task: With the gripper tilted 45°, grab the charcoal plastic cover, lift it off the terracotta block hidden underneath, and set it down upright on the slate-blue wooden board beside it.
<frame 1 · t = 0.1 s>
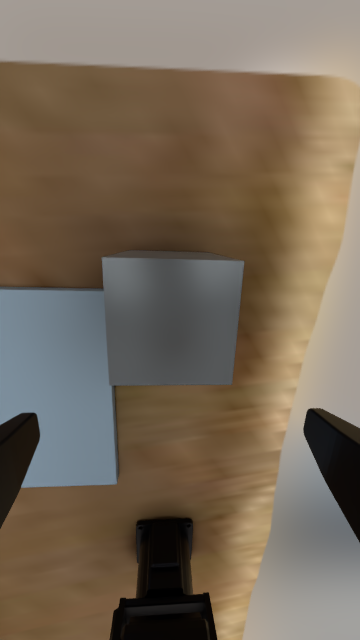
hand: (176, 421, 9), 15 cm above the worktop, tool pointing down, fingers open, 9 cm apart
board: (38, 393, 24), on the worktop
cover: (168, 289, 22), on the worktop
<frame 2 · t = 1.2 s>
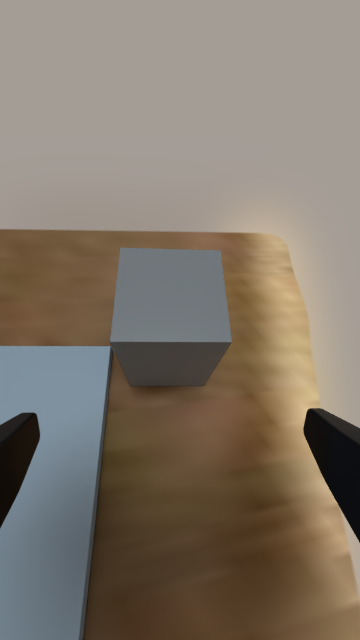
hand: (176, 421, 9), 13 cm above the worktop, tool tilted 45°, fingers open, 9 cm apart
board: (0, 482, 18), on the worktop
cover: (167, 351, 24), on the worktop
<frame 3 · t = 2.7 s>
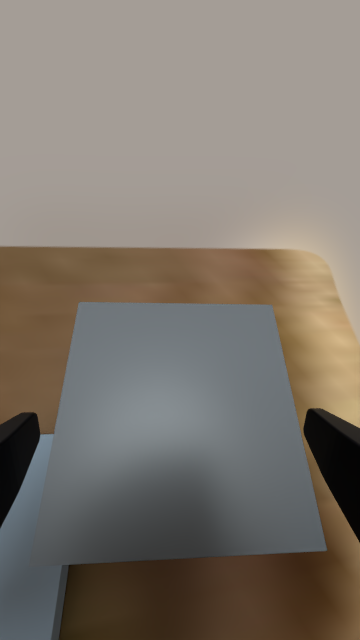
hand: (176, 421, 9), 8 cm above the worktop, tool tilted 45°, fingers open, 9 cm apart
cover: (169, 433, 16), on the worktop
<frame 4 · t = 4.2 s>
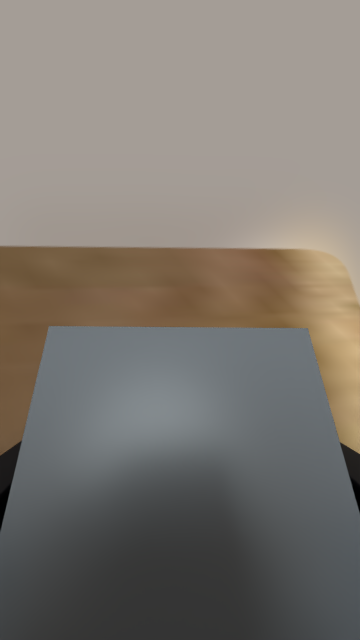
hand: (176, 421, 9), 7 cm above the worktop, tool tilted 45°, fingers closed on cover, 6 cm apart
cover: (170, 463, 14), on the worktop, touching gripper
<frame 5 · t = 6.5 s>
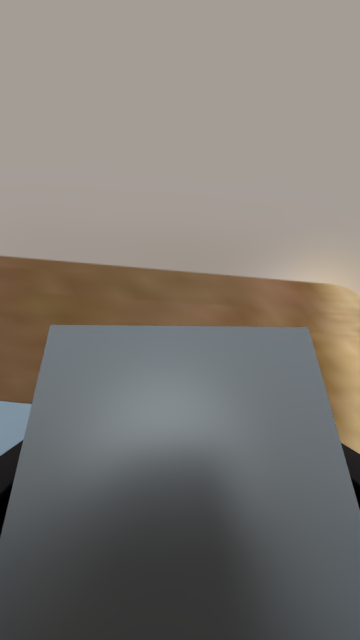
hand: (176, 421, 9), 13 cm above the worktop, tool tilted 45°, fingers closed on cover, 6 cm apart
board: (46, 574, 16), on the worktop
cover: (170, 462, 14), point 7 cm above the worktop, touching gripper
when the fingers open (9 cm above the worktop, at t = 9.1 s): cover drops 1 cm, resting on board.
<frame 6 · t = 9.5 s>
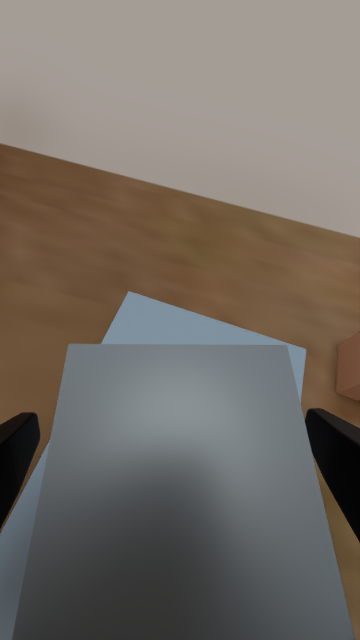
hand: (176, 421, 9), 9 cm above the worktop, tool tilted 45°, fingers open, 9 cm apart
board: (169, 462, 16), on the worktop
cover: (170, 461, 15), point 1 cm above the worktop, touching board
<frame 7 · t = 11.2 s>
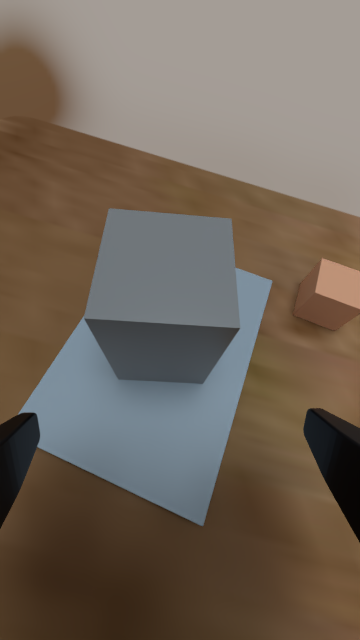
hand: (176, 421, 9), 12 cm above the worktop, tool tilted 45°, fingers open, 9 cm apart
board: (162, 348, 22), on the worktop
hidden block: (328, 295, 23), on the worktop
cover: (163, 342, 21), point 1 cm above the worktop, touching board
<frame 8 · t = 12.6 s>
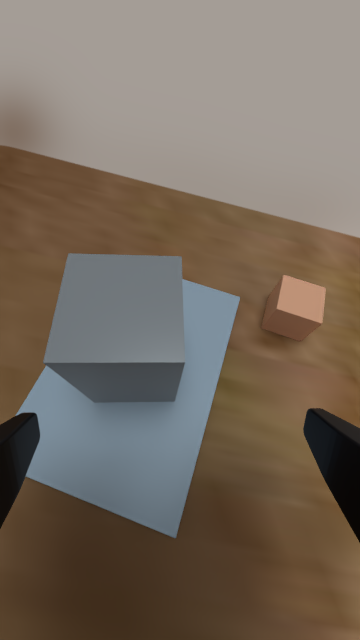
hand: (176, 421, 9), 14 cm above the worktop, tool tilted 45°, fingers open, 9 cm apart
board: (137, 368, 23), on the worktop
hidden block: (291, 309, 25), on the worktop
cover: (137, 363, 22), point 1 cm above the worktop, touching board
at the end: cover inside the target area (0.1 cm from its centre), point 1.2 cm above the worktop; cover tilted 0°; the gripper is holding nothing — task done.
